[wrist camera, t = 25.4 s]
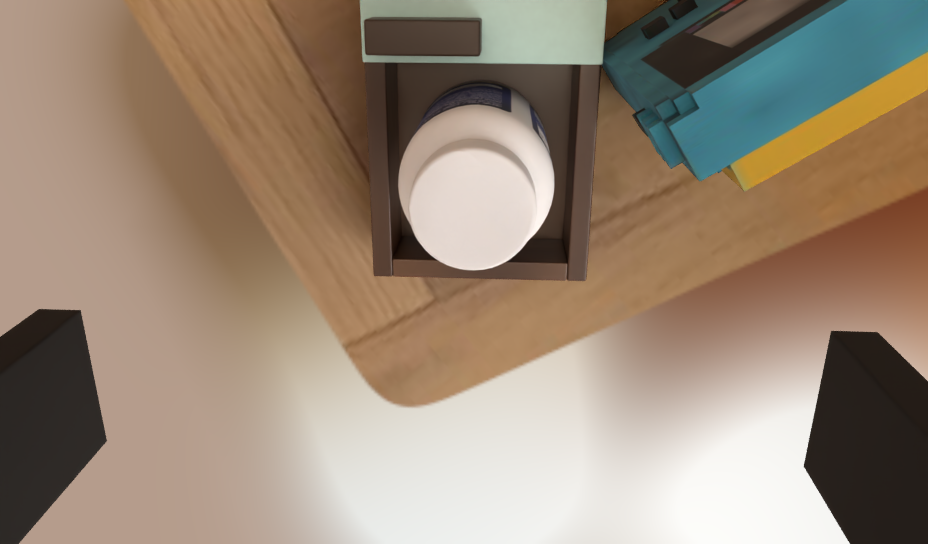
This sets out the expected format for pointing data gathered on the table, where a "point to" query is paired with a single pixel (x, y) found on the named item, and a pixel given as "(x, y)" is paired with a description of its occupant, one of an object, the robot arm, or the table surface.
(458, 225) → the pill bottle
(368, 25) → the pale green cover
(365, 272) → the table surface
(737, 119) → the handheld gaming console
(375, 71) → the case
